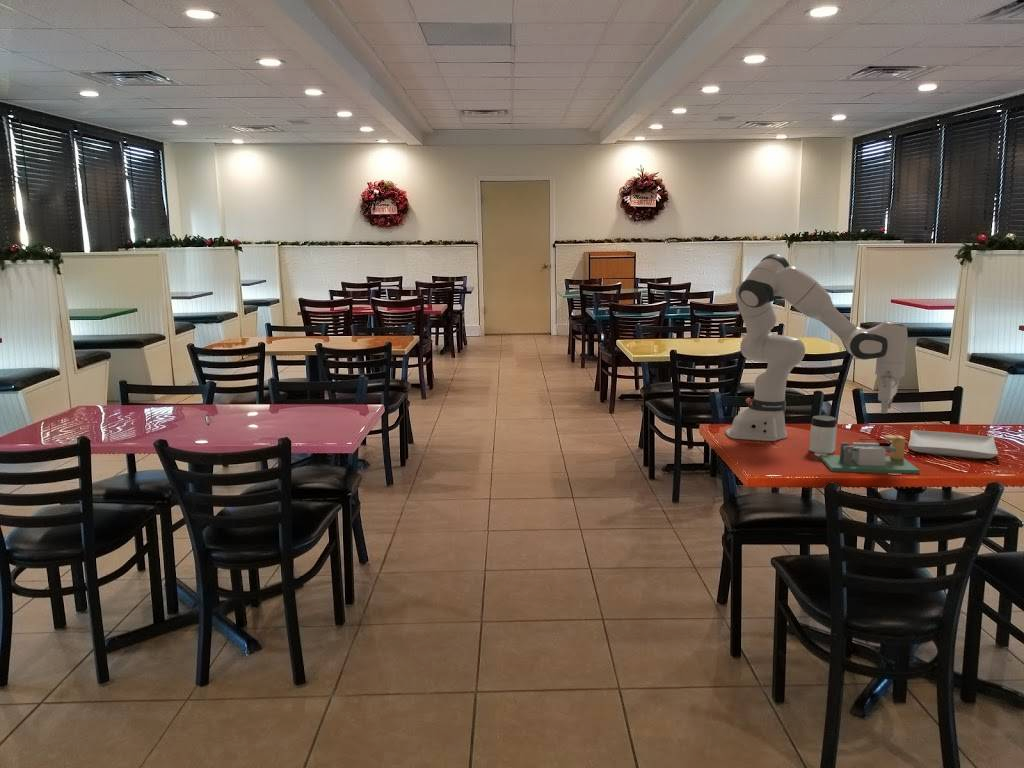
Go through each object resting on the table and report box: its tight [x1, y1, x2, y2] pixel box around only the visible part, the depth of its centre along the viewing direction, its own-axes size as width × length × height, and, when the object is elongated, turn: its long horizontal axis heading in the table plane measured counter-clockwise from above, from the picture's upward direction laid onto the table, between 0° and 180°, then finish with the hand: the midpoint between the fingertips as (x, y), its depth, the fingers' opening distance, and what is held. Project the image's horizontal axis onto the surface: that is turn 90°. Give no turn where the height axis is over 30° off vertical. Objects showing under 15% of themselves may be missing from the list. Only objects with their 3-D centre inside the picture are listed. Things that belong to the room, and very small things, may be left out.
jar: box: [809, 415, 838, 455], centre depth 282 cm, size 9×8×12 cm
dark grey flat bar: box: [842, 445, 896, 453], centre depth 263 cm, size 16×3×1 cm, turn 83°
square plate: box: [908, 429, 999, 460], centre depth 284 cm, size 27×27×4 cm
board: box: [818, 441, 921, 475], centre depth 263 cm, size 27×16×7 cm, turn 83°
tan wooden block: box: [883, 434, 906, 460], centre depth 268 cm, size 6×4×7 cm
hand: (886, 410), depth 268 cm, fingers open, 8 cm apart
